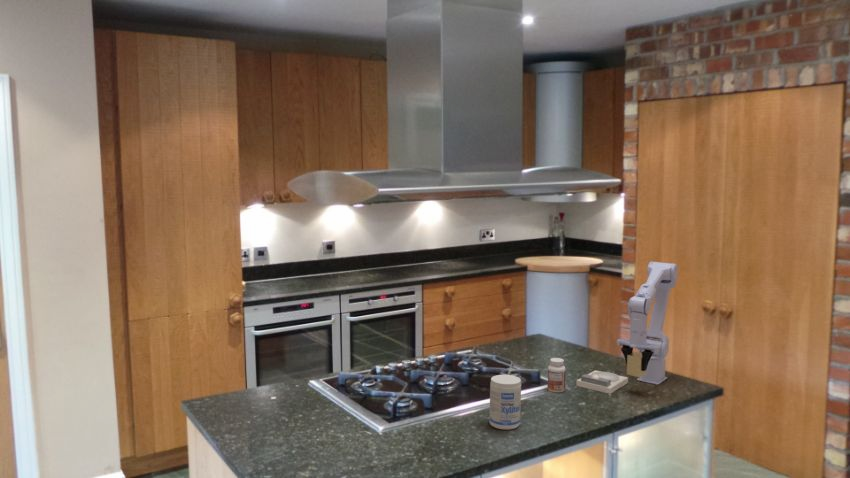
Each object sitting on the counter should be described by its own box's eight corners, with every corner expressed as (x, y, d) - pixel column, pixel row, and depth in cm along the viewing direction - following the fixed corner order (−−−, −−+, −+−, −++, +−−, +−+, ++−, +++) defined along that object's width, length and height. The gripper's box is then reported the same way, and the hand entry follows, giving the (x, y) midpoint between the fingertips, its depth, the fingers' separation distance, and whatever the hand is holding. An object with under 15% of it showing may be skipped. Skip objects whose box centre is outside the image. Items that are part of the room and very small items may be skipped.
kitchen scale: (595, 375, 265) (595, 362, 265) (627, 382, 257) (628, 369, 256) (576, 385, 254) (576, 371, 253) (610, 393, 246) (610, 379, 245)
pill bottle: (555, 385, 254) (556, 356, 252) (568, 390, 249) (569, 360, 248) (543, 389, 250) (544, 359, 248) (557, 394, 245) (558, 363, 244)
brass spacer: (632, 370, 249) (633, 351, 248) (646, 373, 246) (647, 354, 245) (626, 374, 245) (627, 354, 244) (640, 377, 242) (641, 357, 241)
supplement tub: (503, 433, 212) (504, 386, 210) (482, 423, 219) (483, 378, 217) (526, 425, 218) (527, 380, 216) (505, 416, 225) (506, 372, 223)
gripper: (613, 329, 245) (612, 367, 247) (654, 336, 236) (652, 375, 238) (622, 325, 250) (620, 362, 252) (662, 332, 241) (660, 370, 243)
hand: (636, 368), depth 245 cm, fingers closed on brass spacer, 5 cm apart
